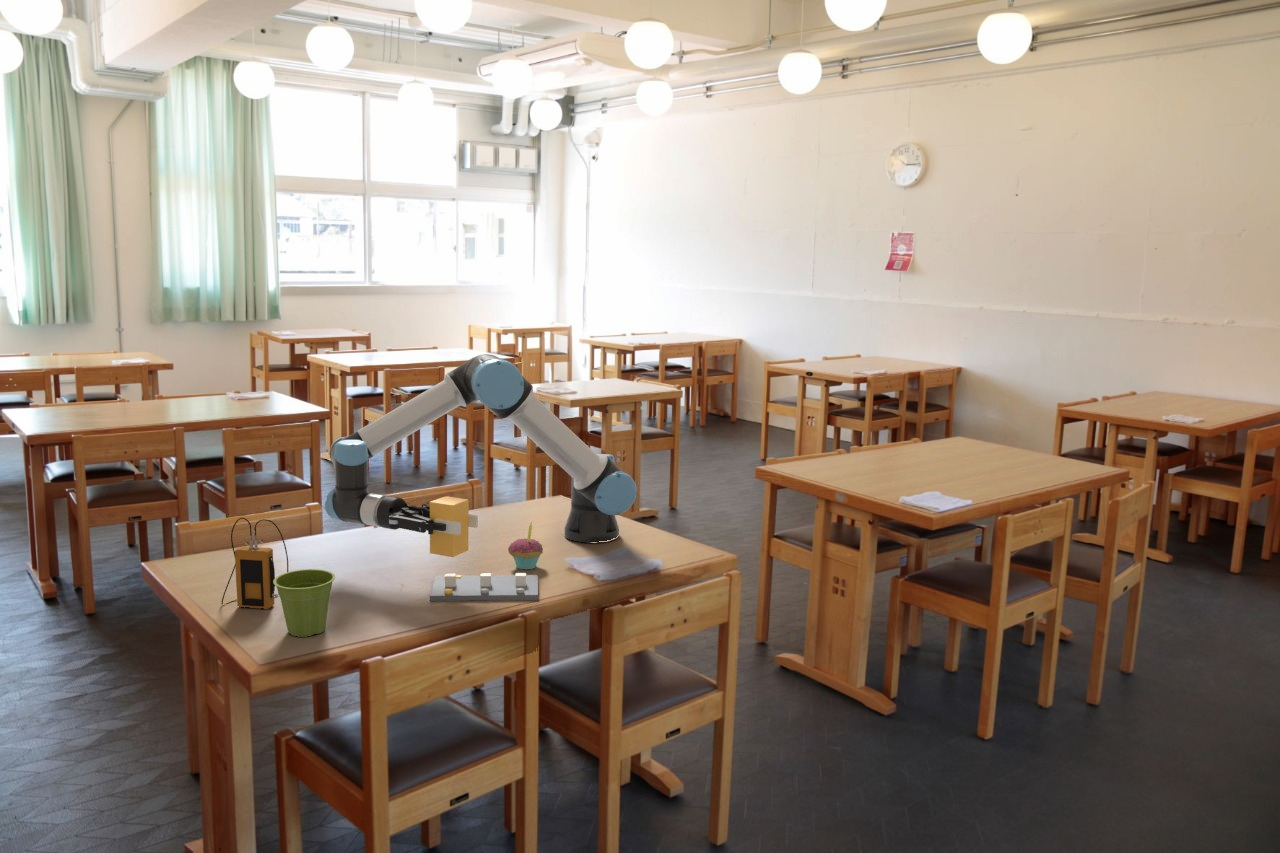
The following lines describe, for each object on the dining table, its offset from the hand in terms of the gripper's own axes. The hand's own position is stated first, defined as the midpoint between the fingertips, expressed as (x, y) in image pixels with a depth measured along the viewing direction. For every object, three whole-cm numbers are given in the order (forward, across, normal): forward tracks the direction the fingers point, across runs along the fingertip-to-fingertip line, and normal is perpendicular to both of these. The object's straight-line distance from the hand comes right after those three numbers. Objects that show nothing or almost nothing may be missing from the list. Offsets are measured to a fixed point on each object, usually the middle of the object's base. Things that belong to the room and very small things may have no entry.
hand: (468, 525), depth 223 cm
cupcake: (+1, -23, -16) cm, 29 cm away
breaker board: (+2, -4, -16) cm, 17 cm away
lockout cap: (-5, 0, -7) cm, 9 cm away
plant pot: (-16, +34, -17) cm, 41 cm away
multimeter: (-37, +25, -17) cm, 47 cm away
